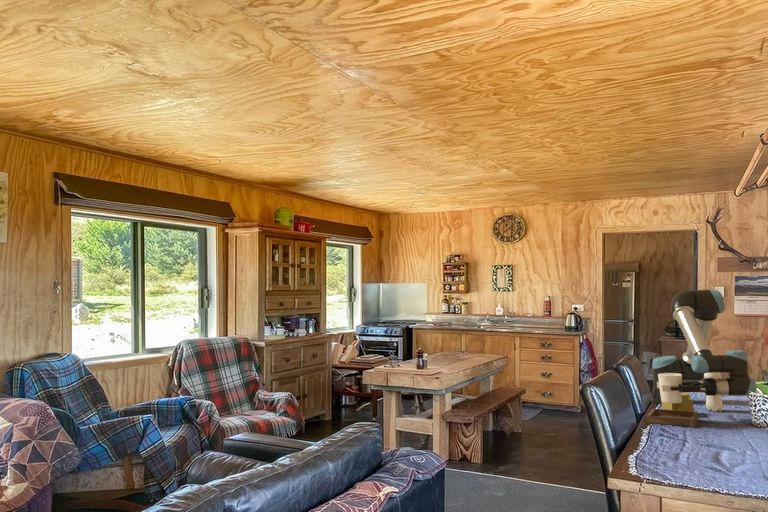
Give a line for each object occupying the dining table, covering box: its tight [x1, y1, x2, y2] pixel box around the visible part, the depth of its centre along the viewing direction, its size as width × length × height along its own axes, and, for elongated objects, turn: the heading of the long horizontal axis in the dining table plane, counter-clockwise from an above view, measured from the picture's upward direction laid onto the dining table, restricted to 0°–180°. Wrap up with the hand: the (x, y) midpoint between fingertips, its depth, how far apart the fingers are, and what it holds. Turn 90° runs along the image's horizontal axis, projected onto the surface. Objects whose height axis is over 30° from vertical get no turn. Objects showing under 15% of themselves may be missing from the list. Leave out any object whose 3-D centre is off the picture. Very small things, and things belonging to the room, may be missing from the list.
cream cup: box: [658, 373, 683, 403], centre depth 261 cm, size 10×10×12 cm
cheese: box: [661, 392, 696, 412], centre depth 275 cm, size 10×11×10 cm
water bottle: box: [704, 373, 724, 412], centre depth 282 cm, size 7×7×25 cm
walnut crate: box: [645, 408, 699, 429], centre depth 260 cm, size 18×18×4 cm
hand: (659, 386), depth 262 cm, fingers closed on cream cup, 9 cm apart
